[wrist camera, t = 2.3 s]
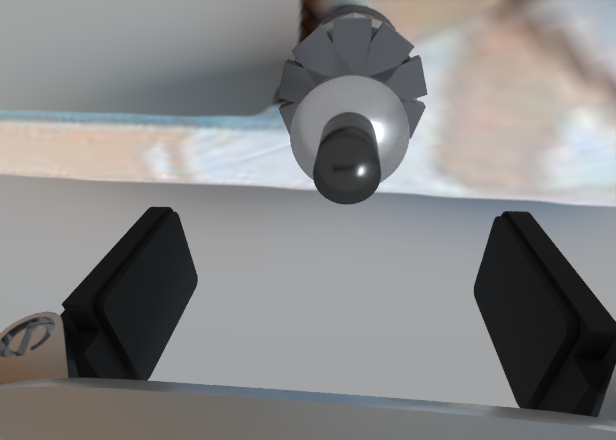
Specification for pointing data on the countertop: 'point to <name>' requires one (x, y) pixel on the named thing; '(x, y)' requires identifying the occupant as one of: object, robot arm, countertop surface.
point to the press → (354, 60)
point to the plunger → (349, 136)
